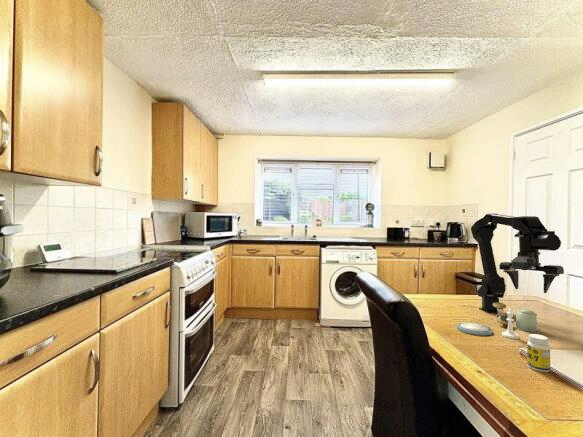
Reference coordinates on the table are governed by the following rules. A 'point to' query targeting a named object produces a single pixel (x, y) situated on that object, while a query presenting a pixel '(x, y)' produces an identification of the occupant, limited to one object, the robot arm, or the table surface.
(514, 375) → the table surface
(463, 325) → the dish
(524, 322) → the sage cup
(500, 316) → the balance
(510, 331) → the chess piece
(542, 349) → the supplement bottle
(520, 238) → the robot arm
